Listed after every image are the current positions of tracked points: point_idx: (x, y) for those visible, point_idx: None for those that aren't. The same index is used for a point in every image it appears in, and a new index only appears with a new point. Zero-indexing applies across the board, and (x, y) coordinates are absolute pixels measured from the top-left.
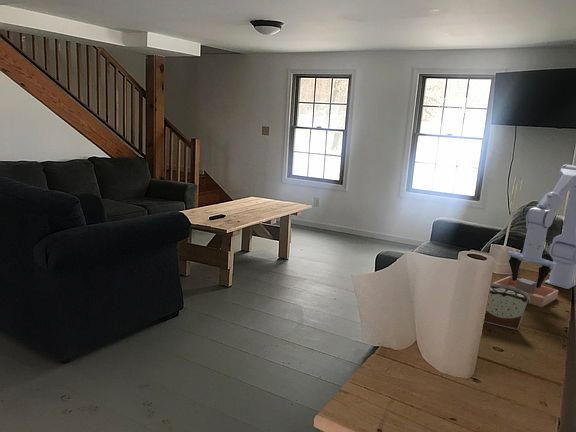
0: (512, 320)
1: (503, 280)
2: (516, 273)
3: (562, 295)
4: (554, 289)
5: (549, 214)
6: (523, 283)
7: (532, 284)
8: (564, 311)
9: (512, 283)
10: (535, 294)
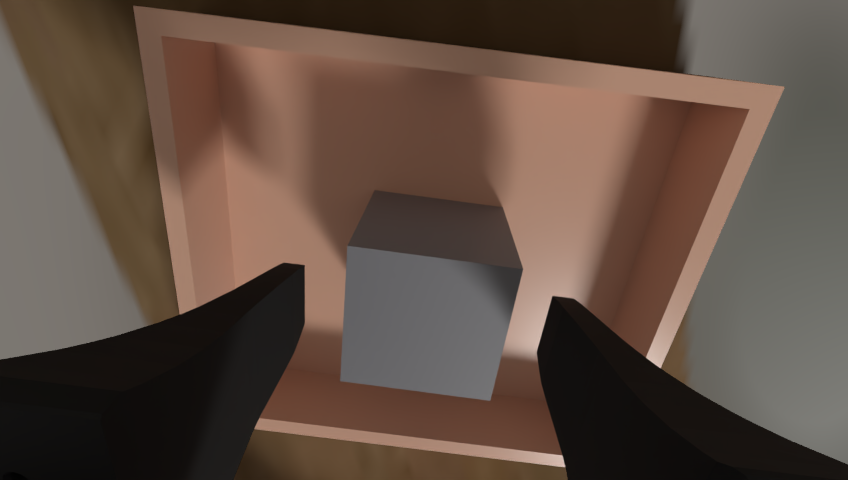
0: None
1: (654, 320)
2: (569, 387)
3: (243, 462)
4: None
5: None
6: (438, 252)
7: (346, 287)
8: (51, 112)
9: None
10: None
